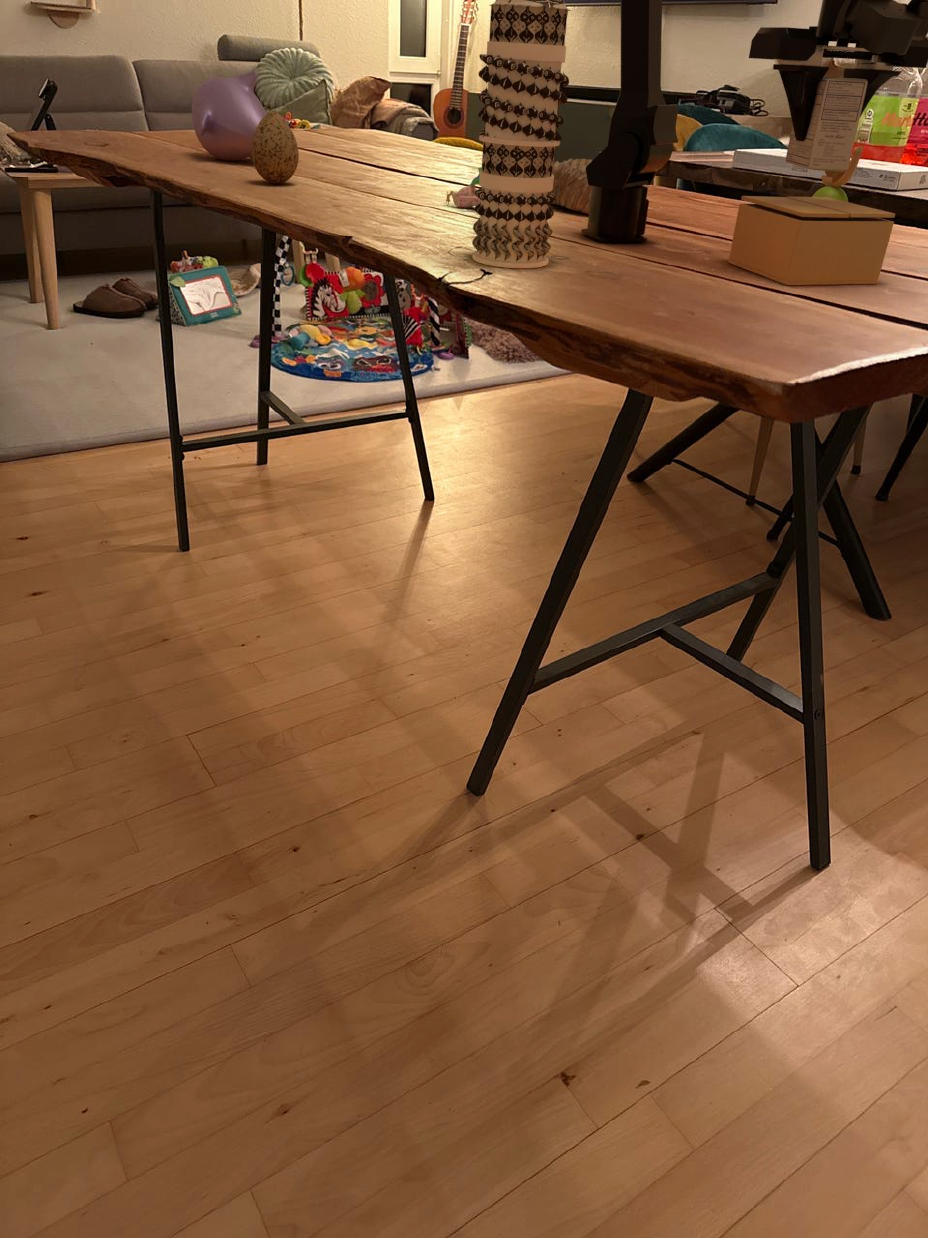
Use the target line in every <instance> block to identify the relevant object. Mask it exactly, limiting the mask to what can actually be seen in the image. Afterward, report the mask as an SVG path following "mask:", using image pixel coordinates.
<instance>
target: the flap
mask: <svg viewBox="0 0 928 1238" xmlns="http://www.w3.org/2000/svg"><path fill="white" fill-rule="evenodd" d="M786 197H787V196H762V195H761V196H760V195H756V196H755V195H741V201H744V202H748V203H750V204H758V205H762V206H766V207H769V208H773V209H776V210H780V211H783V212H787V213H791V214H794V215H798V216H801V217H831V218H849V214H848V213H844V212H840V211H837V210H833V209H829V208H825V207H821V206H817V205H813V204H809V203H805V202H802V201H798V200H794V199H790V198H786Z"/></svg>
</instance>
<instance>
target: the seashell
mask: <svg viewBox="0 0 928 1238" xmlns="http://www.w3.org/2000/svg"><path fill="white" fill-rule="evenodd" d="M592 161H593V159H586V158H575V159H574V158H572V157H571V158H569V159H567V160H563V161H561V162H559V161H558V160H556V161H554V163H553V175H554V182H553V190H552V191H551V193H552V194H554V195H555V200H554V201H553V203H551V205H554V206H560V207H565V208H566V209H569V210H572V211H576V212H581V213H584V214H586V215H589V208H590V200H591V191H592V186H589V185H588V181H587V175H586V166H587V165H588V164H589V163H590V162H592Z"/></svg>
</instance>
